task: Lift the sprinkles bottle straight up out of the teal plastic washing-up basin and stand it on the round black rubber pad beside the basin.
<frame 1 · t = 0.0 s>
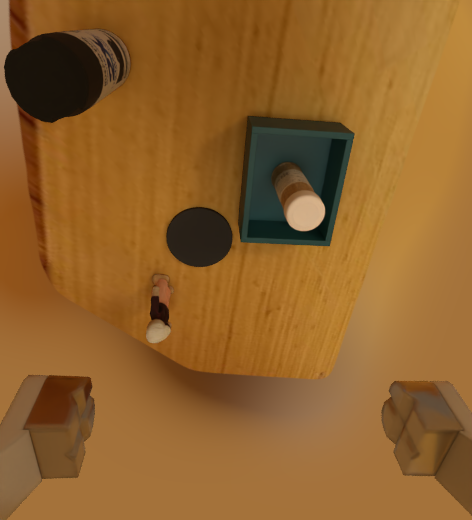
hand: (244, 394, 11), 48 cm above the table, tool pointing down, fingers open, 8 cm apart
pad: (199, 237, 62), on the table
grandmother figurine: (164, 286, 67), on the table
sprinkles bottle: (286, 175, 58), resting on basin
basin: (286, 175, 58), on the table
spray can: (103, 60, 49), on the table
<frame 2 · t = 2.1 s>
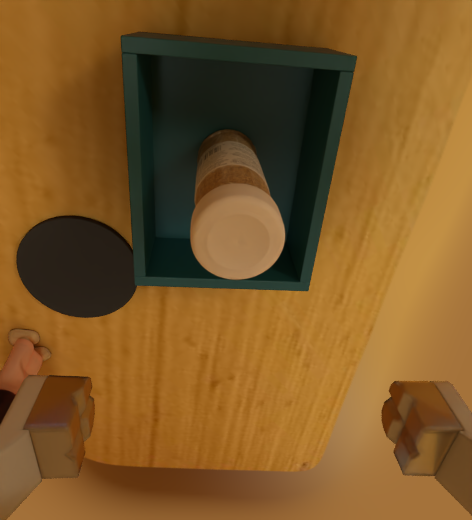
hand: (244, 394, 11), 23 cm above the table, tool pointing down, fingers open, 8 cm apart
pad: (80, 268, 35), on the table
grandmother figurine: (33, 348, 39), on the table
sprinkles bottle: (227, 157, 31), resting on basin
basin: (227, 157, 31), on the table
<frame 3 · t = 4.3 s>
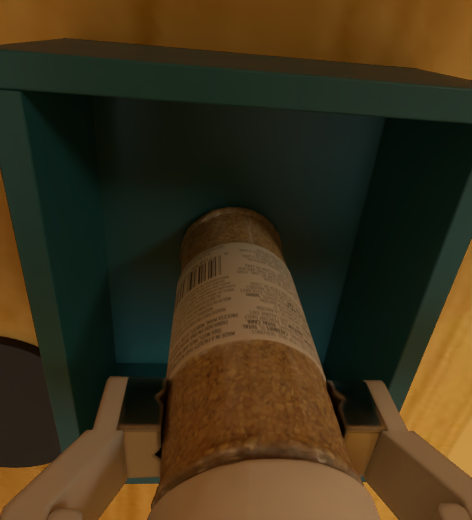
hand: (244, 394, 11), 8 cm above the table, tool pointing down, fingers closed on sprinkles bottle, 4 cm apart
pad: (1, 404, 22), on the table
sprinkles bottle: (231, 247, 18), resting on basin, touching gripper
basin: (231, 247, 18), on the table
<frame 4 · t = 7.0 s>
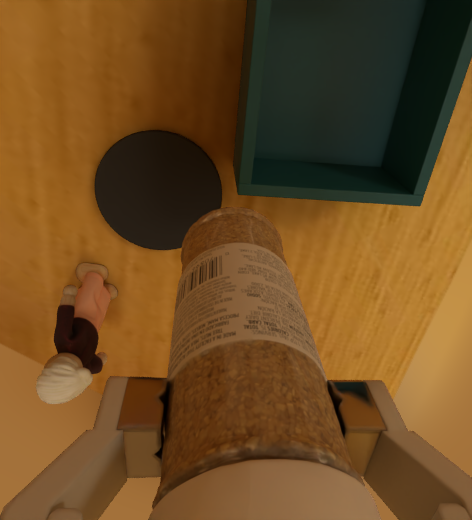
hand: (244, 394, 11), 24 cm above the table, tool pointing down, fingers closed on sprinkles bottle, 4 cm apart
pad: (159, 193, 33), on the table
grandmother figurine: (99, 286, 37), on the table
sprinkles bottle: (232, 247, 18), point 15 cm above the table, touching gripper
basin: (331, 63, 29), on the table
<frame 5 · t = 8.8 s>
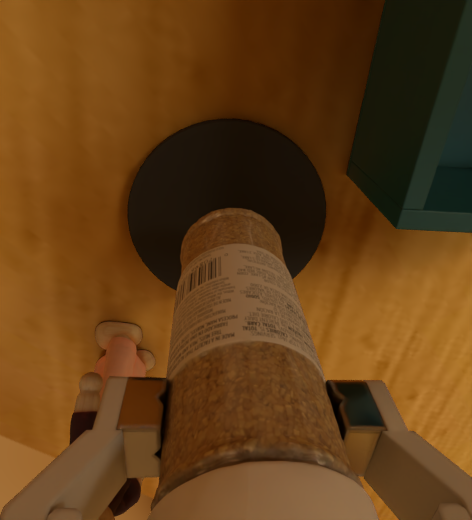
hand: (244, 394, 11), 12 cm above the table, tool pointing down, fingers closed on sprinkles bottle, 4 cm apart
pad: (227, 218, 21), on the table
grandmother figurine: (129, 352, 25), on the table
sprinkles bottle: (231, 248, 18), point 3 cm above the table, touching gripper
when the fingers open (9 cm above the table, at t = 10.0 s): sprinkles bottle stays where it is, resting on pad.
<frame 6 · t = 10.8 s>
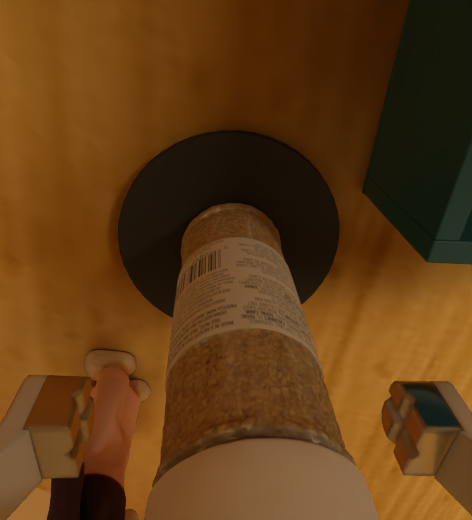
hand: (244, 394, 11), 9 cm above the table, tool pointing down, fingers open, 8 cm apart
pad: (229, 240, 19), on the table
grandmother figurine: (122, 381, 23), on the table
sprinkles bottle: (231, 243, 19), resting on pad
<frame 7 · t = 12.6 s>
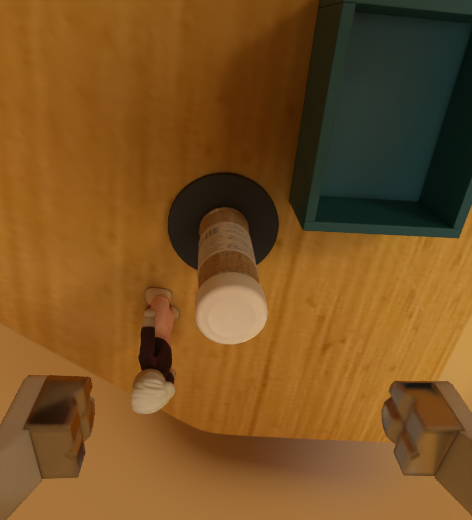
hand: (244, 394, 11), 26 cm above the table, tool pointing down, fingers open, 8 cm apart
pad: (223, 226, 37), on the table
grandmother figurine: (163, 308, 41), on the table
sprinkles bottle: (224, 227, 37), resting on pad
basin: (378, 116, 33), on the table
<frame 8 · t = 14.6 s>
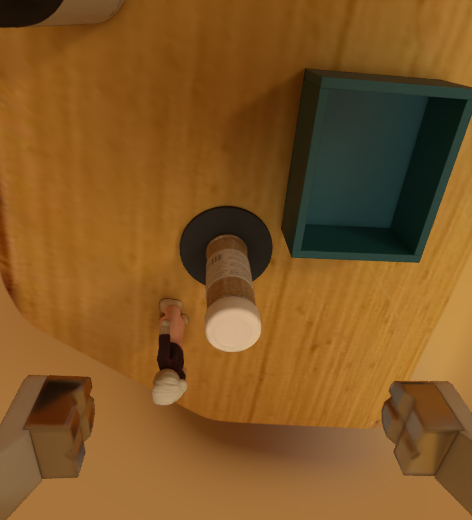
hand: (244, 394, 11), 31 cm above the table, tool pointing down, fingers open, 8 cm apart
pad: (226, 248, 44), on the table
grandmother figurine: (175, 315, 49), on the table
sprinkles bottle: (226, 250, 44), resting on pad
basin: (354, 160, 40), on the table
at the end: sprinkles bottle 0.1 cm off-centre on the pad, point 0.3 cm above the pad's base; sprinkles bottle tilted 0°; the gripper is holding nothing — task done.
